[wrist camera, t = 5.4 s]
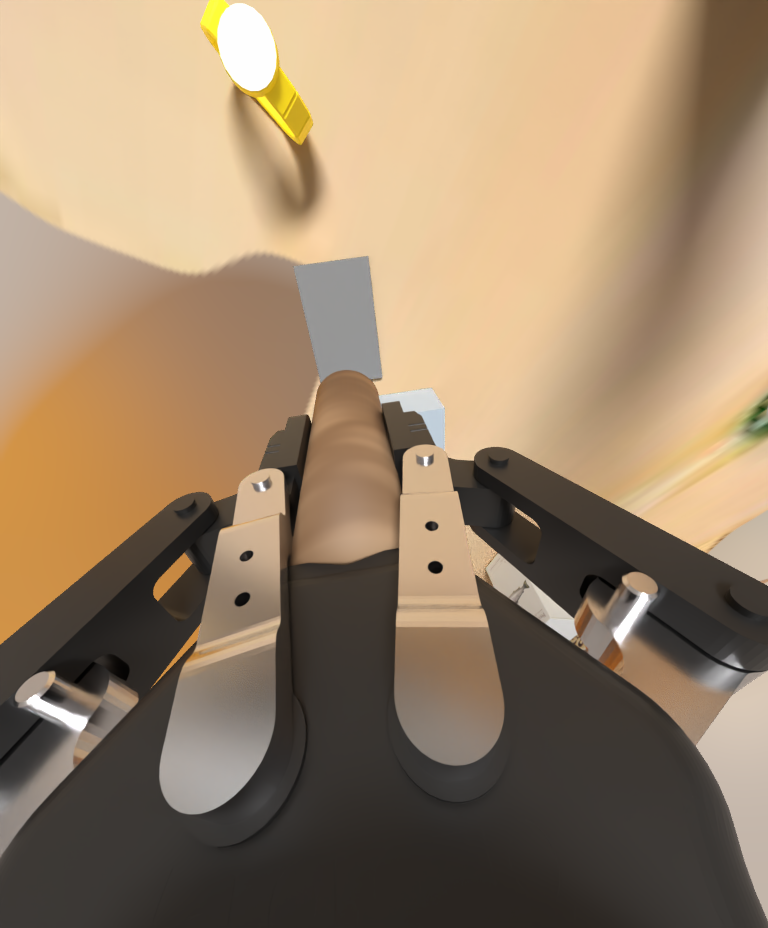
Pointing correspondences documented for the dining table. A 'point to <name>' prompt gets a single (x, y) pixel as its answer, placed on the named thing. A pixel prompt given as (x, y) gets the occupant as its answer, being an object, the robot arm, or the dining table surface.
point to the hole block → (423, 410)
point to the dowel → (347, 477)
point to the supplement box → (529, 596)
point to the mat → (340, 316)
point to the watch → (255, 64)
